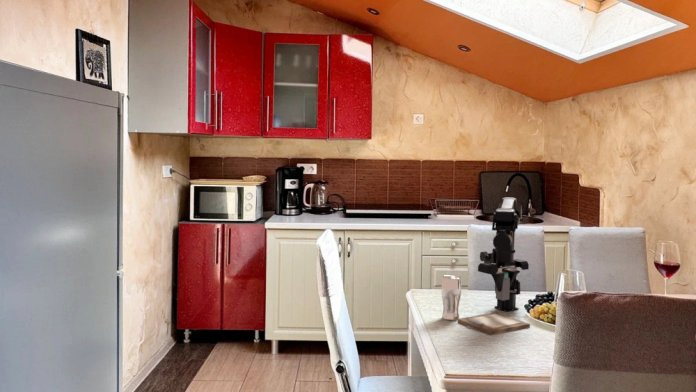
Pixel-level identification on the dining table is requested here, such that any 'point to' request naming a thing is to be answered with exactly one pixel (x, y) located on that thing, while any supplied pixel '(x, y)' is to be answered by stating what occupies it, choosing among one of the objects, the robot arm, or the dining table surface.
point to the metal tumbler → (451, 296)
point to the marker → (504, 288)
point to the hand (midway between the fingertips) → (502, 290)
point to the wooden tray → (493, 323)
